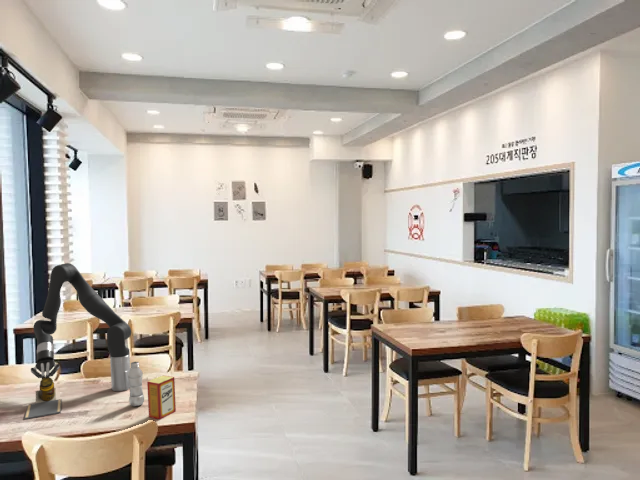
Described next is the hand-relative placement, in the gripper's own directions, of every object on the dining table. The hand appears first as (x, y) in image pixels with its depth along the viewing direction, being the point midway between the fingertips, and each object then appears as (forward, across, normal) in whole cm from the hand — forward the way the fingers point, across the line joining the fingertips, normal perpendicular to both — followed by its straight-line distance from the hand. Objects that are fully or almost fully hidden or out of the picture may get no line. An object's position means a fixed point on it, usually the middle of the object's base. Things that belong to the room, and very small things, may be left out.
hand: (45, 383), depth 234 cm
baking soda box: (+39, +46, -24) cm, 65 cm away
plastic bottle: (+27, +38, -12) cm, 48 cm away
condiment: (+3, 0, +6) cm, 7 cm away
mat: (+14, -1, -1) cm, 14 cm away
